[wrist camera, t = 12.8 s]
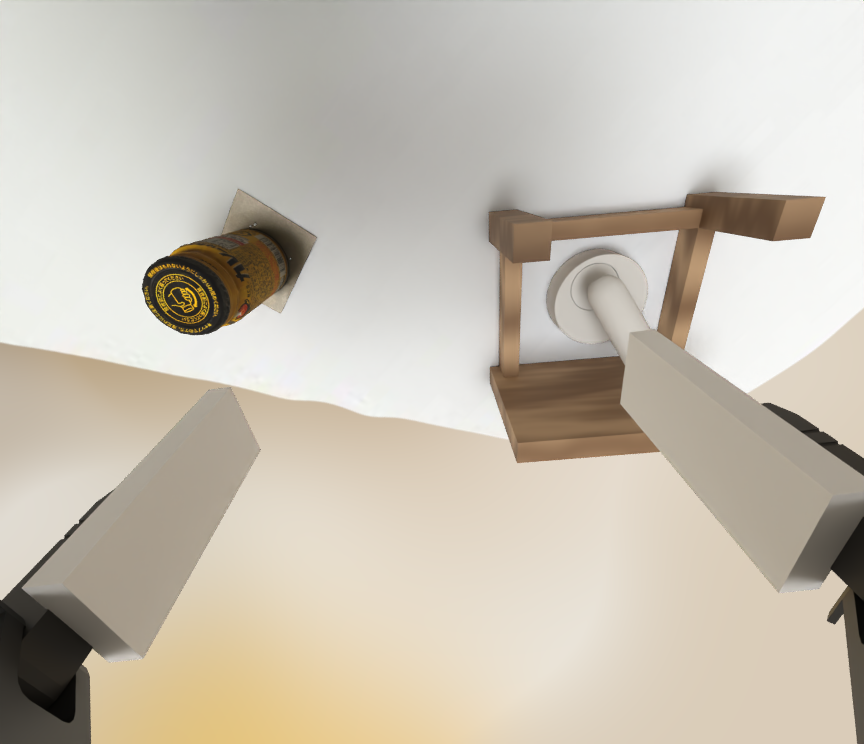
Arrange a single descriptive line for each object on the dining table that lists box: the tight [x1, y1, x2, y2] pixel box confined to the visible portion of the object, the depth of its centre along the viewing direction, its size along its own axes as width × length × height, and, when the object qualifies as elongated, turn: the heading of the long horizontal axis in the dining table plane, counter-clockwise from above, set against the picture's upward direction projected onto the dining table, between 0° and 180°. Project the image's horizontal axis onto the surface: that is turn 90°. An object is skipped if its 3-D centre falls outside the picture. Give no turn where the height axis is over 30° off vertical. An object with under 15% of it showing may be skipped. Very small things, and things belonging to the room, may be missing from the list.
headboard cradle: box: [489, 192, 826, 463], centre depth 31 cm, size 18×20×13 cm
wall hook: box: [546, 249, 651, 365], centre depth 33 cm, size 9×10×10 cm
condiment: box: [142, 189, 316, 335], centre depth 29 cm, size 7×8×12 cm
